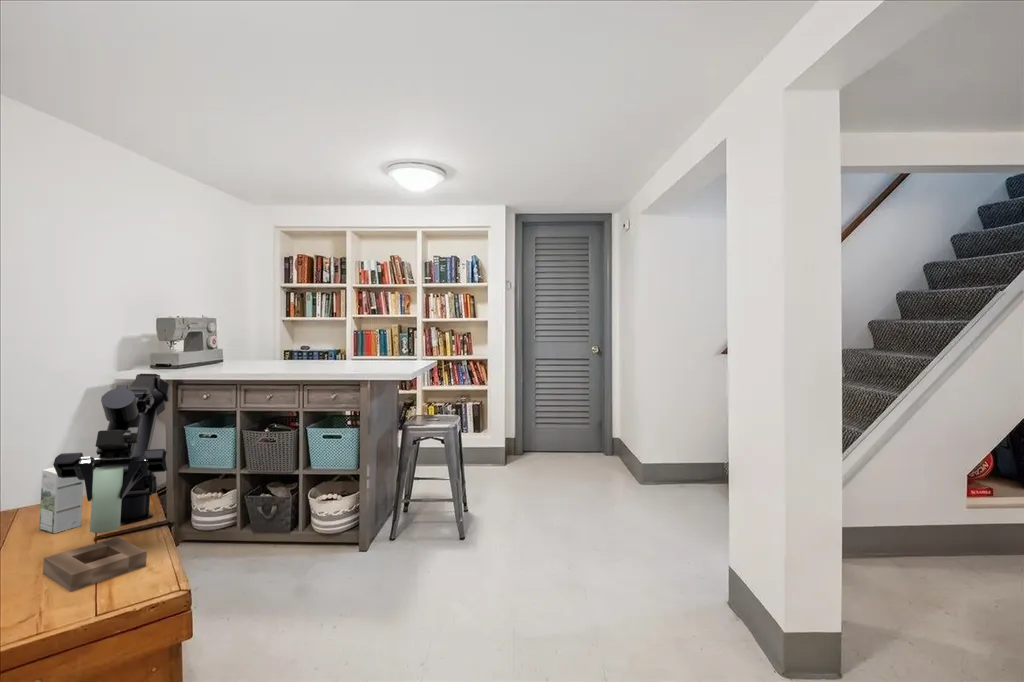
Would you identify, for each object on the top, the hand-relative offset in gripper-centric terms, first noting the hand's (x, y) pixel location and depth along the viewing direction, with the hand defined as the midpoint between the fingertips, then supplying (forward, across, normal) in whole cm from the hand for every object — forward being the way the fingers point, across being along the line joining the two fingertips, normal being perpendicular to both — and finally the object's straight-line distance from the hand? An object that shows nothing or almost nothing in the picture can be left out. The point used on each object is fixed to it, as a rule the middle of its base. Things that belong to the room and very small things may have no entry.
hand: (105, 499), depth 98 cm
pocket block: (+12, 0, +7) cm, 14 cm away
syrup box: (-8, -13, +27) cm, 31 cm away
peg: (+4, 0, +6) cm, 7 cm away
